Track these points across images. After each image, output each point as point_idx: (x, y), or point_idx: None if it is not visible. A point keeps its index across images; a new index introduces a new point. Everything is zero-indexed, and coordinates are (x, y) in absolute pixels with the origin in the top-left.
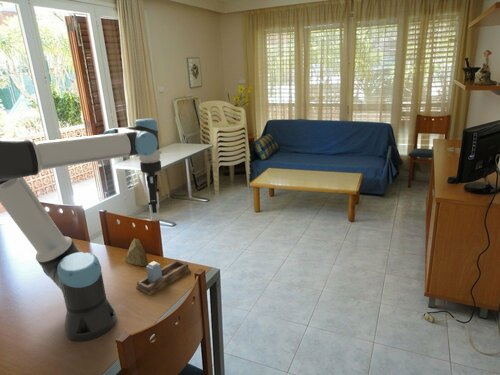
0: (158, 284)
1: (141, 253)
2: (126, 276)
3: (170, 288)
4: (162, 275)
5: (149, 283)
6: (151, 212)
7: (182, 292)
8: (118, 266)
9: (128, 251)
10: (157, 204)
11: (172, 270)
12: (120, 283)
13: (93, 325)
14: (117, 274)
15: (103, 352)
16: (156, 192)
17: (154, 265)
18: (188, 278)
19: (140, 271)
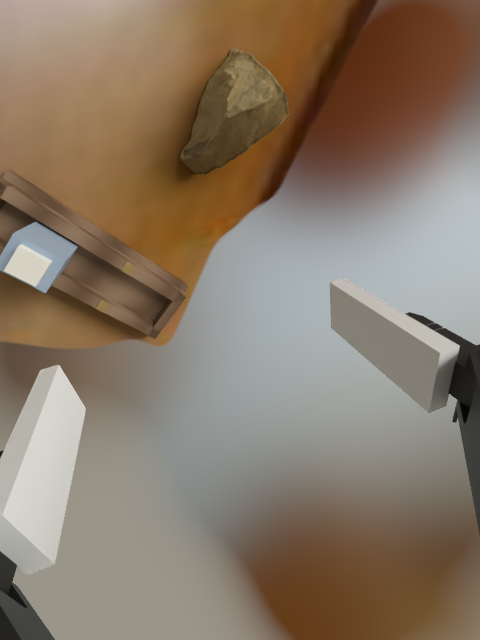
0: None
1: (208, 150)
2: (99, 95)
3: (35, 299)
4: (100, 259)
5: None
6: (15, 432)
7: (18, 341)
8: (186, 24)
9: (246, 65)
10: (28, 562)
11: (136, 286)
12: (37, 79)
13: None
14: (114, 39)
15: None
16: (443, 396)
17: (16, 275)
18: (104, 338)
19: (143, 154)
